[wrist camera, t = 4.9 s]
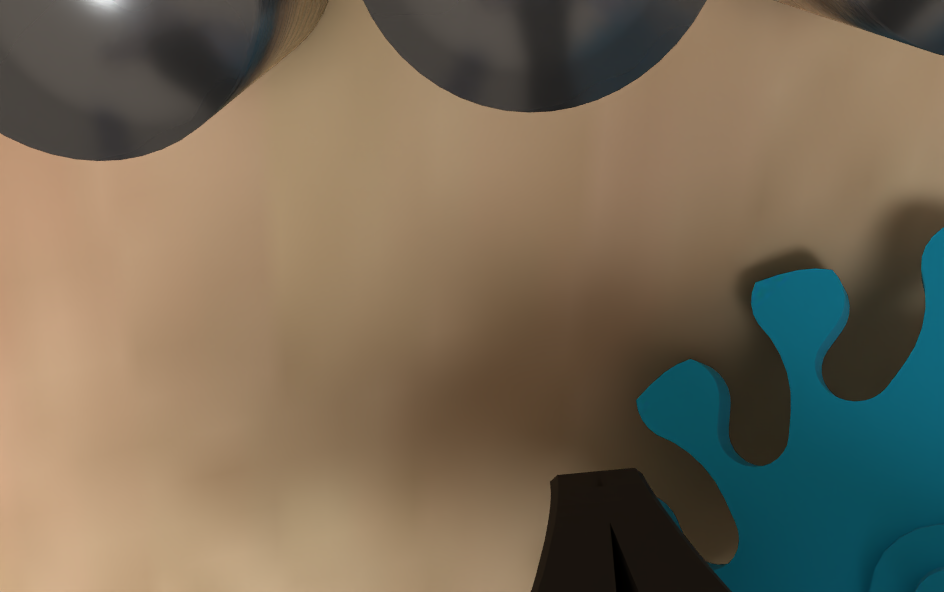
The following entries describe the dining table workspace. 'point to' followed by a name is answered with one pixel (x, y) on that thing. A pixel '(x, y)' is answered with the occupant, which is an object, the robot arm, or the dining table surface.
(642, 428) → the dining table surface
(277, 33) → the spacer field
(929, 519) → the gear
